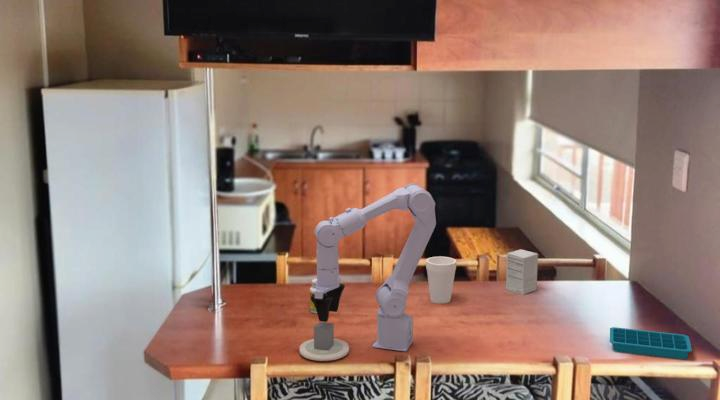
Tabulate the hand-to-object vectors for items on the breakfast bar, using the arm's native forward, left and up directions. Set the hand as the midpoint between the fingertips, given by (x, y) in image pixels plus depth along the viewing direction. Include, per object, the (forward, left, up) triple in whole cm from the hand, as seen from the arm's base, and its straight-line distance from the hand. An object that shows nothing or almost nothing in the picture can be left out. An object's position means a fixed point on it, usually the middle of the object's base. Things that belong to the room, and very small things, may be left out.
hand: (328, 316), depth 204 cm
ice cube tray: (-81, -28, -10) cm, 86 cm away
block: (0, +3, -8) cm, 8 cm away
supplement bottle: (+13, -26, -10) cm, 31 cm away
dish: (0, +3, -9) cm, 10 cm away
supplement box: (-43, -65, -10) cm, 79 cm away
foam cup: (-20, -47, -10) cm, 52 cm away
